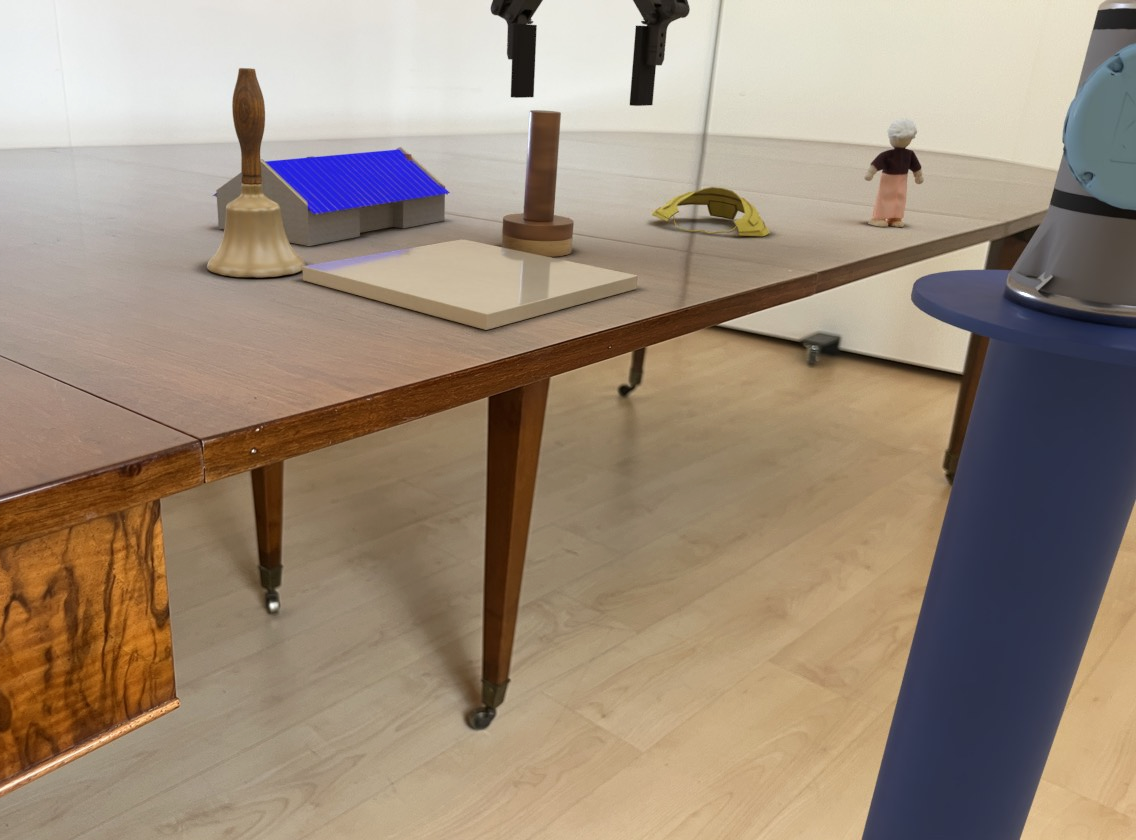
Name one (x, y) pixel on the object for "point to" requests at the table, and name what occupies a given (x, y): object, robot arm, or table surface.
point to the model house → (345, 194)
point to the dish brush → (540, 195)
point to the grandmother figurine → (894, 174)
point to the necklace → (718, 210)
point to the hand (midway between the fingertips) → (579, 101)
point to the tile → (471, 281)
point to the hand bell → (252, 200)
